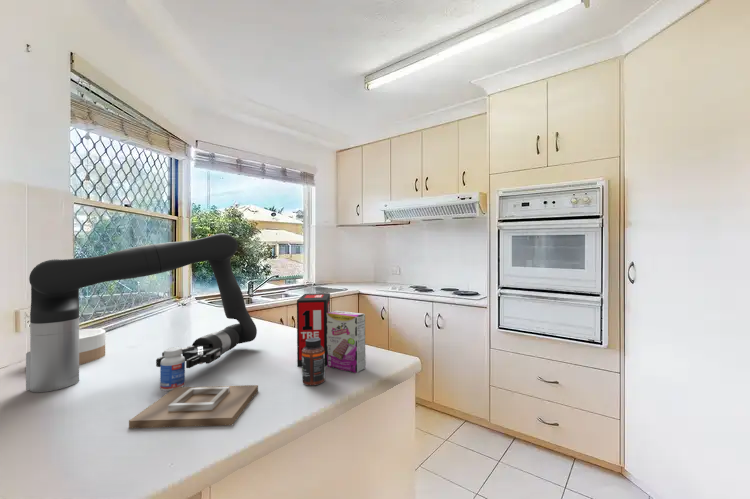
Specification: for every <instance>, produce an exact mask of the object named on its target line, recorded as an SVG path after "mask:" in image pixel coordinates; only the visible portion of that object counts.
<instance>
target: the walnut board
mask: <svg viewBox="0 0 750 499" xmlns="http://www.w3.org/2000/svg"><path fill="white" fill-rule="evenodd" d="M258 392H259V385H258V384H257V385H256V384H254V385H253V384H252V385H251V384H250V385H248V384H247V385H214V386H213V385H212V386H211V385H210V386H183V387H175V388H174V389H173V390H171V391H167V393H166V394H164V395H163V396H162V397H160V398H158V399H157V400H156V401H154V402H153V403H152V404H150V405H149V406H148V407H146V408H145V409H143V410H142V411H140V412H139V413H138V414H136V415H135V416H134V417H132V418H131V419H129V420H128V429H153V428H154V429H155V428H160V429H161V428H181V427H182V428H183V427H184V428H186V427H187V428H189V427H191V428H192V427H219V426H224V427H225V426H233V425H234V424H235V422H236V421H237V419H238V418H239V417H240V416H241V414H242V413H243V412H244V411H245V409H246V408H247V406H248V405H249V403H251V401H252V400H253V399H254V397H255V396H256V394H257V393H258Z"/></svg>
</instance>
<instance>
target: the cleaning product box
mask: <svg viewBox="0 0 750 499" xmlns="http://www.w3.org/2000/svg"><path fill="white" fill-rule="evenodd" d="M328 312H331V293H330V292H328V293H321V292H320V293H304V294H303V295H301V297H299V298H298V299H297V300H296V339H297V340H296V344H297V345H296V346H297V349H296V350H297V351H296V354H297V357H296V358H297V359H296V362H297V365H296V366H297V367H301V368H302V350H303V348H304V347H305V346H306V345H305V343H306V339H308V338H320V339H321V346H322V347H324V351H325V367H327V313H328Z"/></svg>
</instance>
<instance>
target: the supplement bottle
mask: <svg viewBox="0 0 750 499" xmlns="http://www.w3.org/2000/svg"><path fill="white" fill-rule="evenodd" d="M305 345H306V346H305V347H304V348H303V350H302V367H301V375H302V377H301V378H302V380H301V381H302V384H304V385H306V386H318V385H321V384H323V383H324V382H325V380H326V369H325V368H326V366H325V351H324V347H322V346H321V339H320V338H308V339H306V343H305Z"/></svg>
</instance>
